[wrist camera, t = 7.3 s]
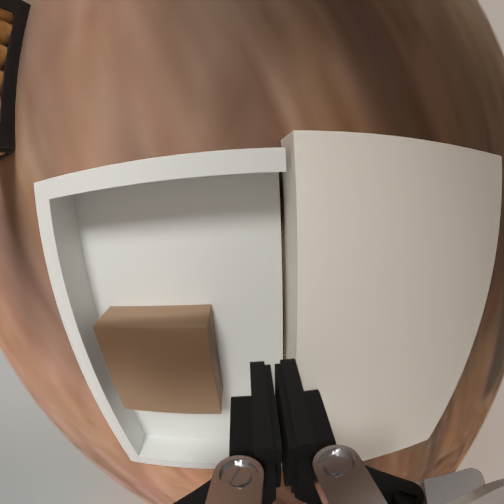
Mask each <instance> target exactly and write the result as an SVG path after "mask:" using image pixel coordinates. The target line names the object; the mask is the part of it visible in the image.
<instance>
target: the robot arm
mask: <svg viewBox="0 0 504 504" xmlns="http://www.w3.org/2000/svg"><path fill="white" fill-rule="evenodd" d="M250 380H251V396H235V397H231V406H230V439H229V457H227V458H225V459H223V460H222V461H220V462H219V463H218V464H217V465H216V467H215V469H214V472H213V476H212V479H211V480H209V481H208V482H207V483H205V484H204V485H202V486H201V487H199V488H198V489H196V490H195V491H193V492H191V493H190V494H188V495H187V496H185V497H183V498H182V499H180V500H179V501H177V502H175V503H174V504H271V503H272V502H274V501H275V500H276V487H280V484H281V463H282V469H283V476H284V483H285V486H291V492H292V493H293V492H294V494H295V498H297V499H299V500H301V501H303V502H304V504H504V479H500V480H497V481H494V482H490V483H488V484H485V481H484V478H483V475H482V474H481V472H480V471H479V470H477V469H474V468H468V469H464V470H461V471H458V472H454V473H450V474H447V475H443V476H439V477H434V478H430V479H426V480H423V481H422V482H420V483H414V482H411V481H408V480H405V479H402V478H399V477H396V476H393V475H390V474H387V473H384V472H381V471H379V470H376V469H373V468H371V467H368V466H366V465H364V463H363V461H362V460H361V458H360V456H359V455H358V454H357V452H356V451H355V450H353V449H352V448H350V447H348V446H344V445H337V444H336V441H335V438H334V434H333V431H332V428H331V425H330V422H329V419H328V416H327V413H326V410H325V407H324V403H323V400H322V397H321V394H320V392H319V390H318V389H315V390H308V391H304V389H303V386H302V382H301V378H300V374H299V371H298V367H297V363H296V360H295V358H293V359H282V360H280V364H275V393H274V386H273V379H272V372H271V365H270V364H268V365H265V363H264V361H257V362H250Z"/></svg>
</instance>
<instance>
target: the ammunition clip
mask: <svg viewBox="0 0 504 504" xmlns="http://www.w3.org/2000/svg"><path fill="white" fill-rule="evenodd" d="M30 6H31V5H30V4H28V3H26V2H24V1H22V0H0V159H1V158H3V157H5V156H7V155H8V154H10V153H12V152H13V151H14V149H15V99H16V84H17V74H18V66H19V58H20V52H21V46H22V40H23V35H24V30H25V26H26V21H27V17H28V13H29V9H30Z"/></svg>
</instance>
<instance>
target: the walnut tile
mask: <svg viewBox="0 0 504 504" xmlns="http://www.w3.org/2000/svg"><path fill="white" fill-rule="evenodd" d="M93 329H94V332H95V335H96V338H97V341H98V344H99V347H100V350H101V352H102V355H103V358H104V360H105V363H106V366H107V368H108V371H109V373H110V376H111V378H112V381H113V383H114V385H115V388H116V390H117V392H118V395H119V397H120V399H121V401H122V403H123V405H124V408H125V409H132V410H141V411H152V412H165V413H184V414H221V412H222V397H223V383H222V376H221V370H220V363H219V357H218V350H217V343H216V336H215V328H214V321H213V313H212V305H211V304H201V305H170V306H110V307H109V308H108V309H107V310H106V312H105V313H104V314H103V315H102V316H101V317H100V319H99V320H98V321H97V322H96V323H95V324H94V326H93Z"/></svg>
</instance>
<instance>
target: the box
mask: <svg viewBox="0 0 504 504" xmlns="http://www.w3.org/2000/svg"><path fill="white" fill-rule="evenodd" d="M279 172H287V171H286V150H285V147H280V148H252V149H234V150H220V151H209V152H198V153H188V154H179V155H171V156H163V157H156V158H149V159H142V160H136V161H130V162H124V163H118V164H113V165H108V166H102V167H97V168H93V169H88V170H83V171H79V172H74V173H70V174H66V175H62V176H58V177H54V178H50V179H46V180H42V181H39V182H35V183H34V190H35V200H36V208H37V216H38V223H39V229H40V235H41V240H42V246H43V251H44V255H45V260H46V265H47V269H48V273H49V277H50V281H51V285H52V288H53V292H54V296H55V299H56V302H57V306H58V309H59V312H60V315H61V318H62V321H63V324H64V327H65V330H66V333H67V335H68V338H69V341H70V343H71V346H72V349H73V351H74V354H75V356H76V359H77V361H78V363H79V366H80V368H81V370H82V373H83V375H84V377H85V379H86V381H87V383H88V386H89V388H90V390H91V392H92V394H93V396H94V398H95V400H96V402H97V404H98V406H99V408H100V409H101V411H102V413H103V415H104V417H105V419H106V420H107V422H108V424H109V426H110V427H111V429H112V431H113V433H114V434H115V436H116V438H117V439H118V441H119V442H120V444H121V446H122V447H123V449H124V450H125V452H126V453H127V455H128V456H129V458H130V459H131V461H135V462H141V463H148V464H155V465H164V466H173V467H185V468H204V469H215V467H216V465H217V464H218V463H219V462H220V461H222V460H223V459H225V458H227V457H229V439H230V406H231V397H235V396H251V380H250V362H257V361H264V363H265V365H268V364H270V365H271V372H272V379H273V386H274V393H275V364H280V360H282V359H283V297H282V247H281V214H280V189H279ZM201 304H211V305H212V313H213V321H214V328H215V336H216V343H217V350H218V357H219V363H220V370H221V376H222V383H223V397H222V412H221V414H184V413H165V412H152V411H141V410H132V409H125V408H124V405H123V403H122V401H121V399H120V397H119V395H118V392H117V390H116V388H115V385H114V383H113V381H112V378H111V376H110V373H109V371H108V368H107V366H106V363H105V360H104V358H103V355H102V352H101V350H100V347H99V344H98V341H97V338H96V335H95V332H94V329H93V326H94V324H95V323H96V322H97V321H98V320H99V319H100V317H101V316H102V315H103V314H104V313H105V312H106V310H107V309H108V308H109V307H110V306H170V305H201ZM281 466H282V463H281Z"/></svg>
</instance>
